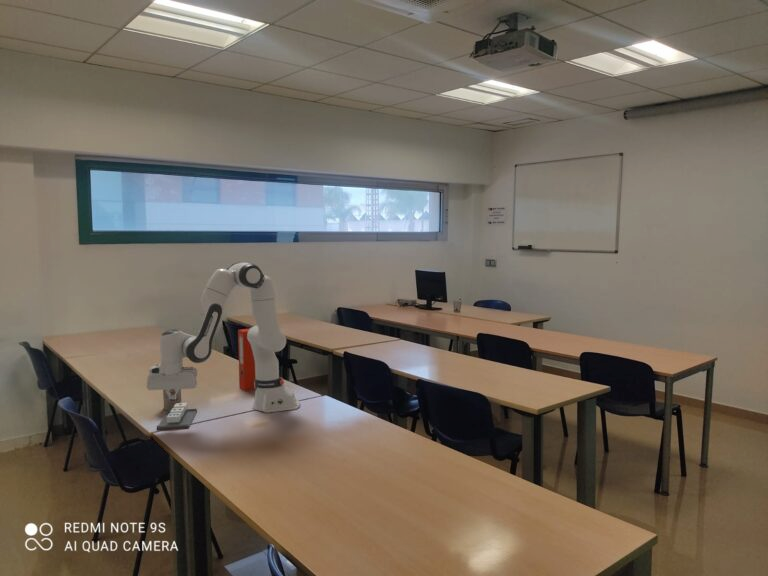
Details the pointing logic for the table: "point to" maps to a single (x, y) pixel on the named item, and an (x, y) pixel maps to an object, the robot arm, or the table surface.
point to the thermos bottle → (171, 402)
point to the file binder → (245, 362)
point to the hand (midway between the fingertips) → (172, 398)
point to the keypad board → (182, 424)
